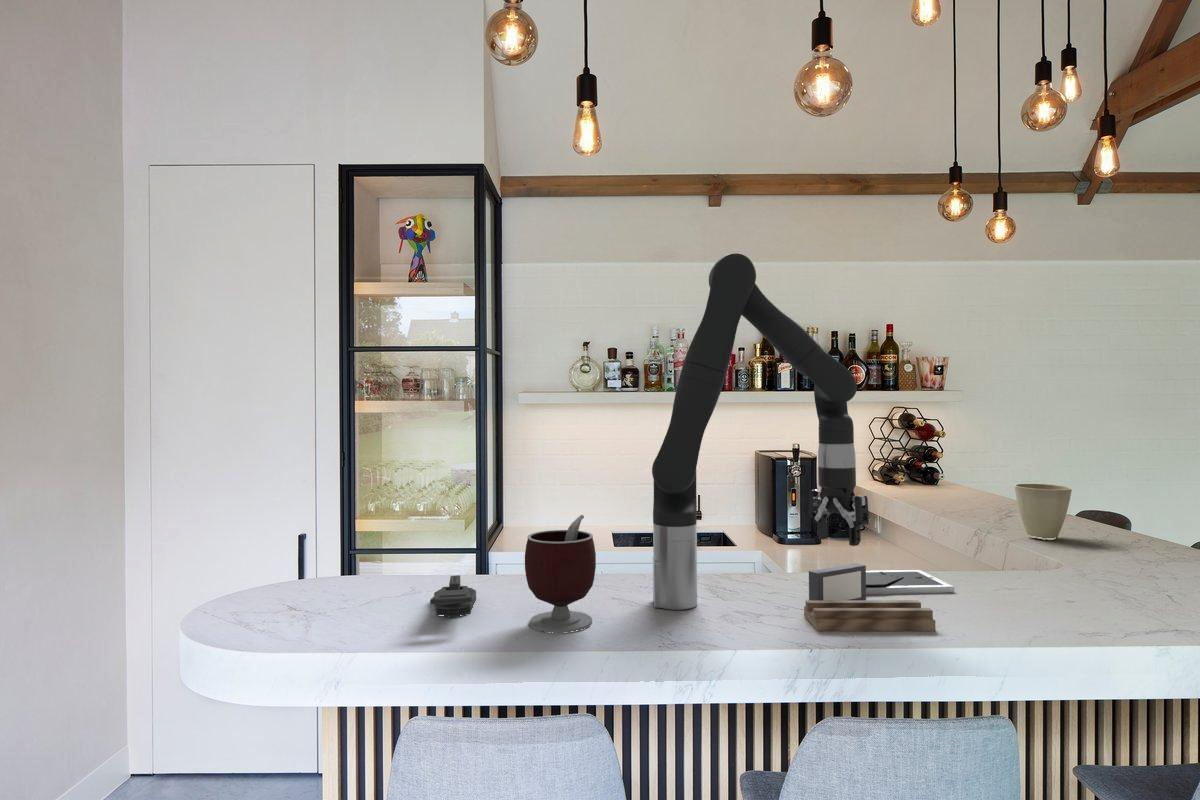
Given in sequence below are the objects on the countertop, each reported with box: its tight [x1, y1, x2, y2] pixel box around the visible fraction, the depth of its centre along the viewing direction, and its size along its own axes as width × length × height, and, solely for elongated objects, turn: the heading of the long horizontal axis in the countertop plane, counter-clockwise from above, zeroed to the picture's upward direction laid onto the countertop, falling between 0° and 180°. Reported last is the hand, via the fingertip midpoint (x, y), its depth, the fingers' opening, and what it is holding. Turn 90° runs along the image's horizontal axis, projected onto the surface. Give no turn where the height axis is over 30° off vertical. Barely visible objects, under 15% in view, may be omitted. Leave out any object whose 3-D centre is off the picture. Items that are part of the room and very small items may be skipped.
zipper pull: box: [429, 575, 477, 617], centre depth 147 cm, size 9×7×25 cm
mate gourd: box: [524, 514, 597, 634], centre depth 140 cm, size 16×14×20 cm
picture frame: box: [866, 569, 955, 595], centre depth 167 cm, size 16×3×21 cm
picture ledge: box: [803, 599, 936, 632], centre depth 138 cm, size 22×9×4 cm, turn 89°
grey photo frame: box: [808, 562, 867, 600], centre depth 150 cm, size 14×2×8 cm, turn 119°
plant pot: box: [1014, 483, 1073, 538], centre depth 219 cm, size 15×15×16 cm
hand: (838, 542), depth 150 cm, fingers open, 8 cm apart
